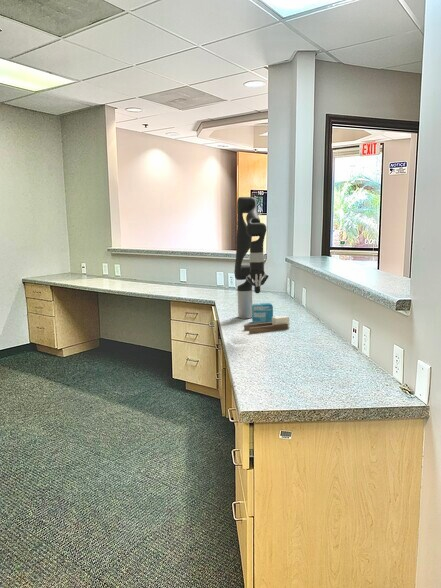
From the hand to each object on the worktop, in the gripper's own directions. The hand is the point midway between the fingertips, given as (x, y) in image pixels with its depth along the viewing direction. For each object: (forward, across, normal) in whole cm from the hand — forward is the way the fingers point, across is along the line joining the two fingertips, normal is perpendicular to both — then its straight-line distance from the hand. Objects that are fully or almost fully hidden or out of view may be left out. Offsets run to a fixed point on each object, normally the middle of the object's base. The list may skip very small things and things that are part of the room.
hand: (257, 293), depth 227 cm
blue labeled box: (+22, -10, -16) cm, 29 cm away
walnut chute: (+21, -4, +2) cm, 22 cm away
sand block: (+20, -13, +2) cm, 24 cm away
